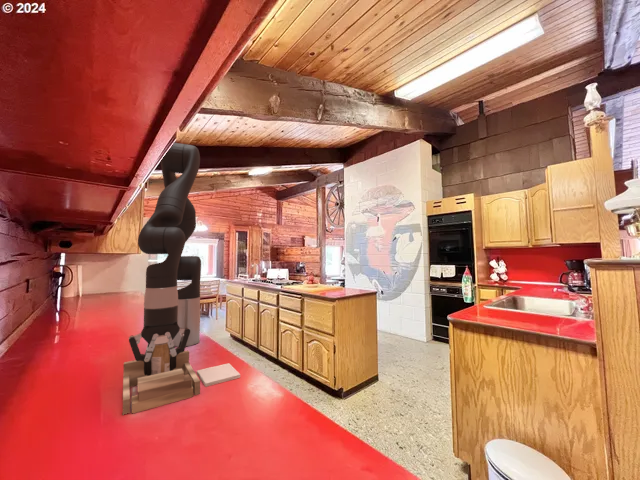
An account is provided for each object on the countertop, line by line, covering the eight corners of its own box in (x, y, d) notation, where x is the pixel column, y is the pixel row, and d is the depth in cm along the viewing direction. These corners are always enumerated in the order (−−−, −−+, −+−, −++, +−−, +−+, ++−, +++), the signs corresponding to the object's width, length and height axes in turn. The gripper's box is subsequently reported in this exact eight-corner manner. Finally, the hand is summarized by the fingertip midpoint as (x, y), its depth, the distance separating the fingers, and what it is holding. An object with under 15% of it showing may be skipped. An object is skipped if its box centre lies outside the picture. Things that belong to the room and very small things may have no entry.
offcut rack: (123, 386, 71) (123, 362, 71) (187, 371, 80) (188, 350, 80) (122, 416, 58) (123, 386, 58) (200, 394, 66) (200, 368, 67)
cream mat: (197, 373, 78) (197, 370, 78) (229, 365, 84) (229, 363, 84) (205, 386, 70) (205, 383, 70) (240, 377, 75) (240, 374, 75)
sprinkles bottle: (173, 387, 70) (174, 333, 71) (154, 394, 67) (155, 337, 67) (164, 382, 73) (165, 330, 74) (145, 389, 69) (147, 334, 70)
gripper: (189, 300, 78) (188, 362, 77) (127, 305, 70) (125, 375, 69) (194, 303, 72) (193, 371, 71) (127, 310, 64) (125, 387, 63)
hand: (160, 372), depth 70 cm, fingers closed on sprinkles bottle, 4 cm apart
